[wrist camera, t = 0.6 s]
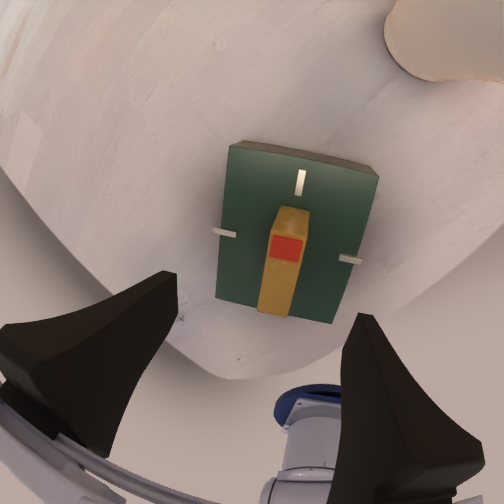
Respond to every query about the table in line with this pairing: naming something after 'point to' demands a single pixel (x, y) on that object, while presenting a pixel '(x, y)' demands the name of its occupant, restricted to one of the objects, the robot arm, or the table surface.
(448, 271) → the table surface
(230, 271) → the knob panel
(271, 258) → the yellow block
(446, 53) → the drinking glass
